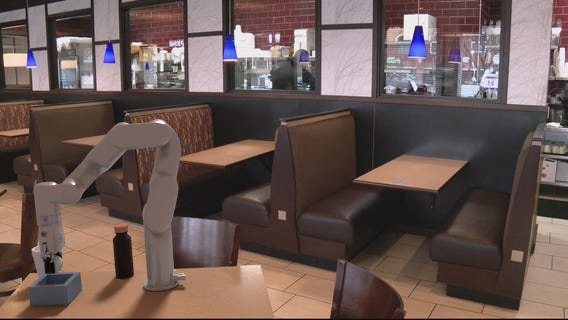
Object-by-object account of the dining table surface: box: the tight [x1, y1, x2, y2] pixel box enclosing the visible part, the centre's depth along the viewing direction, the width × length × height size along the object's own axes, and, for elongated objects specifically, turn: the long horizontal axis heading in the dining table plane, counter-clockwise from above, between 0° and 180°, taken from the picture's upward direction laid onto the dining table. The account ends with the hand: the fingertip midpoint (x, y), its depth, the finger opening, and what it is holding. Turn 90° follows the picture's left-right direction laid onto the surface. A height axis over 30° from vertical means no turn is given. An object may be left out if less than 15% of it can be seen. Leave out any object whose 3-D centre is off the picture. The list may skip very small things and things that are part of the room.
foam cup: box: [31, 245, 59, 278], centre depth 193 cm, size 10×9×13 cm
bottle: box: [112, 223, 135, 280], centre depth 195 cm, size 7×7×20 cm
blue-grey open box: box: [27, 271, 83, 308], centre depth 177 cm, size 13×13×7 cm
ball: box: [44, 255, 64, 273], centre depth 176 cm, size 6×6×6 cm
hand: (54, 269), depth 176 cm, fingers closed on ball, 5 cm apart
